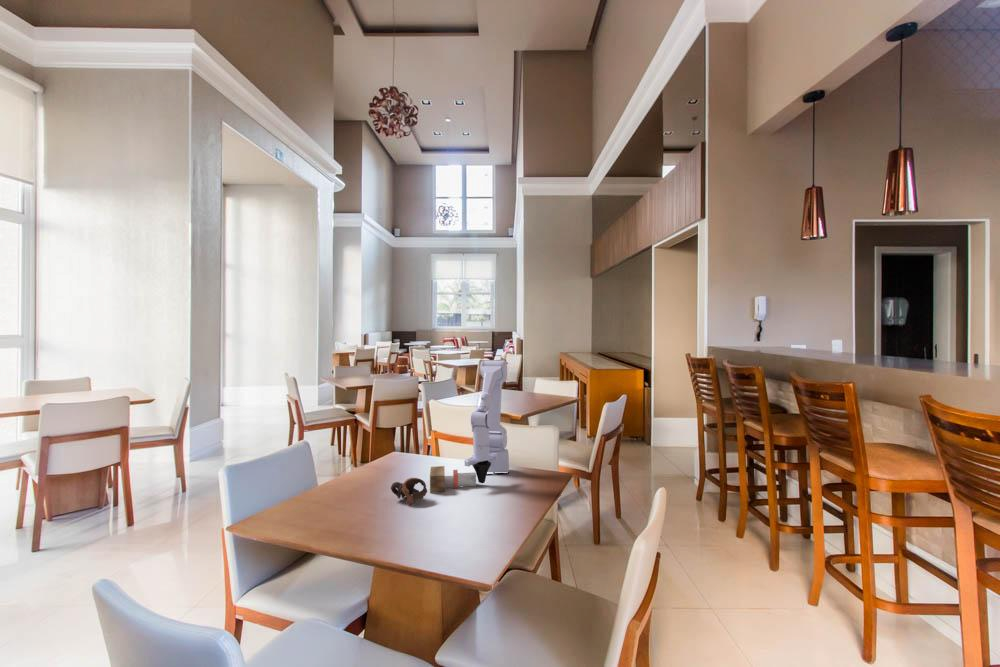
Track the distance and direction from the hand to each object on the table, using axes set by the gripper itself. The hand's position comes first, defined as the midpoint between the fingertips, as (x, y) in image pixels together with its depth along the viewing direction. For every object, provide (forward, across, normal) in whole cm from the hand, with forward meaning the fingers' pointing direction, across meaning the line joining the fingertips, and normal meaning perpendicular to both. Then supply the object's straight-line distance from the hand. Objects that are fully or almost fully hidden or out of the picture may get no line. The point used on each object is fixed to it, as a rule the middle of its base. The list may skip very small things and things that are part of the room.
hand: (481, 482), depth 171 cm
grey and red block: (+1, +7, -7) cm, 10 cm away
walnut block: (+1, +12, -10) cm, 16 cm away
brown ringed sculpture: (+1, +27, -6) cm, 28 cm away
